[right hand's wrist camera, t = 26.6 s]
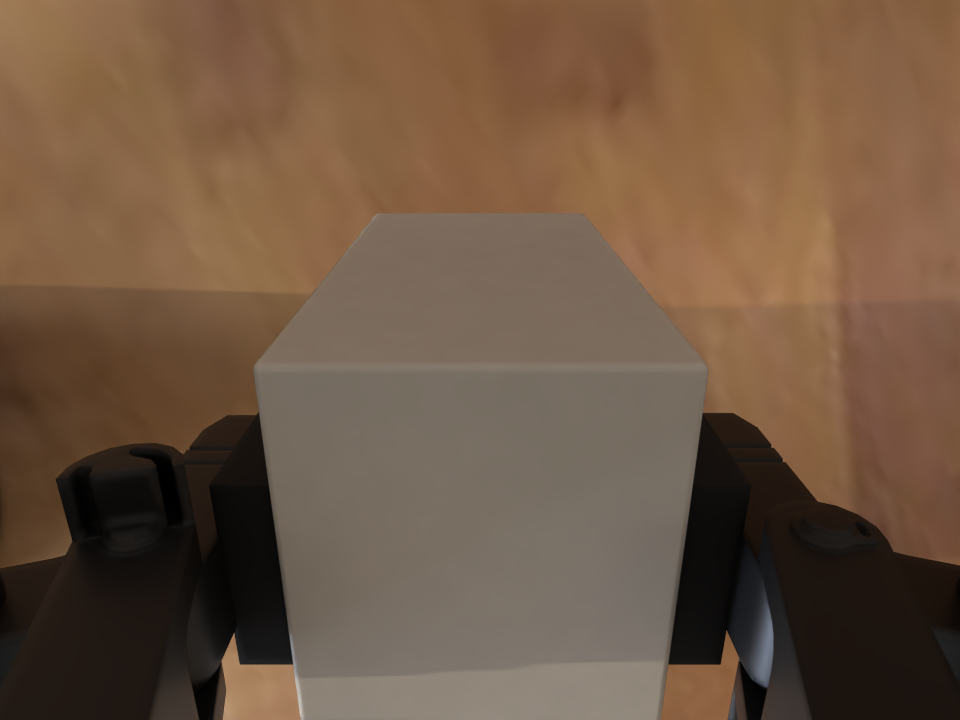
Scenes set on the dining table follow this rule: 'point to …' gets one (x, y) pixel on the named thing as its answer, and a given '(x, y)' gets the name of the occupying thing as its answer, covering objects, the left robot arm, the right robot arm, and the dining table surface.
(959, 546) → the dining table surface
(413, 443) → the block
